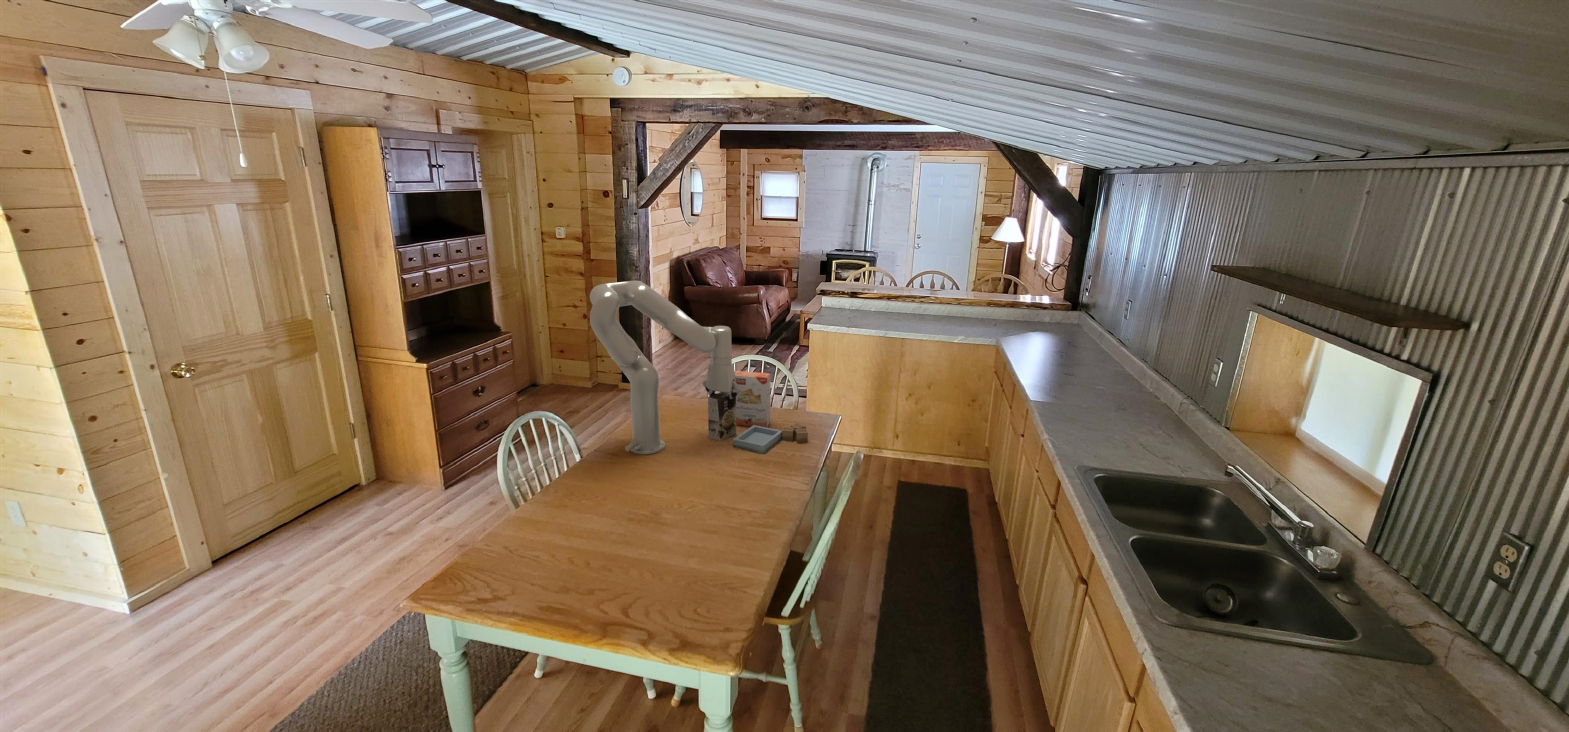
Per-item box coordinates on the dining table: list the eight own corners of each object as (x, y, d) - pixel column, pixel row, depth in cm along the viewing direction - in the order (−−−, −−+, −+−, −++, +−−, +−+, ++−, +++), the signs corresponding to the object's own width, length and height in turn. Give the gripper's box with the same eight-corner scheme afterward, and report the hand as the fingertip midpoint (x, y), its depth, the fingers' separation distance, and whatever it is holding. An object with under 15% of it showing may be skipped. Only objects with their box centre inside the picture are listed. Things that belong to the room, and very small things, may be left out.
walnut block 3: (807, 442, 237) (807, 432, 236) (797, 443, 236) (797, 433, 235) (804, 438, 241) (804, 428, 240) (794, 439, 240) (794, 429, 239)
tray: (763, 453, 227) (763, 445, 226) (732, 446, 232) (732, 439, 231) (782, 438, 240) (783, 430, 239) (753, 432, 245) (753, 424, 245)
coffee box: (720, 441, 237) (719, 400, 232) (707, 437, 241) (706, 396, 236) (737, 433, 244) (736, 393, 239) (724, 429, 248) (723, 390, 243)
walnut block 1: (792, 441, 238) (792, 431, 237) (782, 440, 239) (782, 430, 238) (794, 437, 242) (794, 427, 241) (784, 436, 242) (784, 426, 241)
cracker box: (732, 425, 252) (731, 374, 246) (736, 419, 258) (735, 369, 252) (766, 428, 249) (767, 377, 243) (770, 423, 255) (770, 372, 249)
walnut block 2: (798, 438, 241) (798, 428, 239) (790, 435, 243) (790, 425, 242) (805, 435, 243) (805, 425, 242) (798, 432, 246) (798, 422, 245)
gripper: (695, 359, 234) (696, 405, 239) (736, 366, 227) (737, 413, 232) (706, 354, 241) (707, 399, 246) (747, 360, 233) (747, 407, 238)
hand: (722, 405), depth 239 cm, fingers closed on coffee box, 7 cm apart
